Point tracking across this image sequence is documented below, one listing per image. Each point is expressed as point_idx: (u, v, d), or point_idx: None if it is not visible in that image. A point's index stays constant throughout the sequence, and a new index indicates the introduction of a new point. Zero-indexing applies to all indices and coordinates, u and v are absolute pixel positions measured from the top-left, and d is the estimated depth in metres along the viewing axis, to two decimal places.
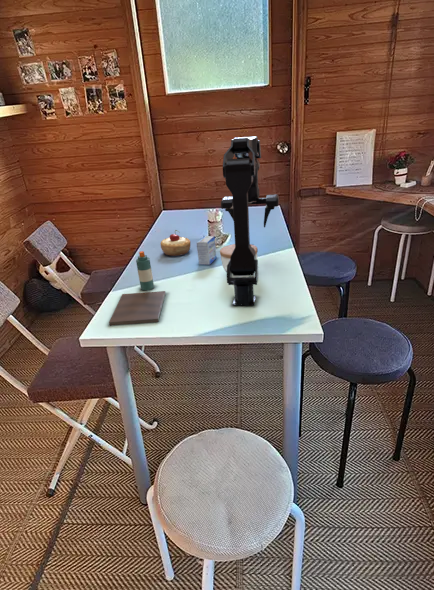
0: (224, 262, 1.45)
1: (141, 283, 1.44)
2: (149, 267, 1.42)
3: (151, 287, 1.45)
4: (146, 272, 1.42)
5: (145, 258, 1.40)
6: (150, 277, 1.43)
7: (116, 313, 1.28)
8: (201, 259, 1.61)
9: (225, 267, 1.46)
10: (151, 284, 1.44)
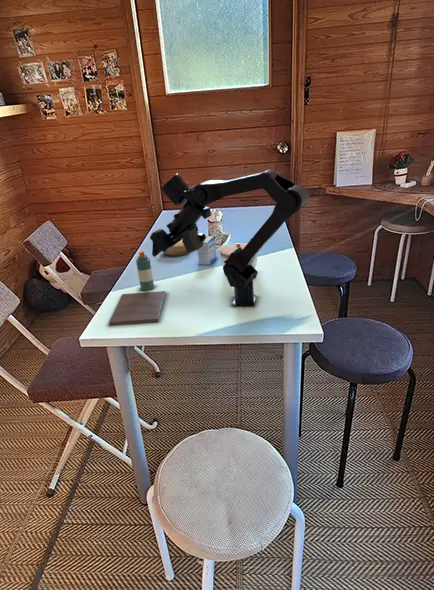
0: None
1: (141, 283, 1.44)
2: (149, 267, 1.42)
3: (151, 287, 1.45)
4: (146, 272, 1.42)
5: (145, 258, 1.40)
6: (150, 277, 1.43)
7: (116, 313, 1.28)
8: (201, 259, 1.61)
9: None
10: (151, 284, 1.44)
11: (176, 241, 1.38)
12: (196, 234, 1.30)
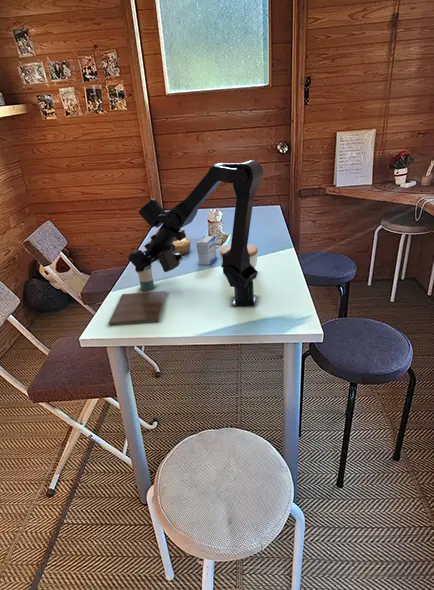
0: None
1: (142, 283, 1.44)
2: (149, 267, 1.42)
3: (151, 287, 1.45)
4: (146, 272, 1.42)
5: None
6: (150, 277, 1.43)
7: (116, 313, 1.28)
8: (201, 259, 1.61)
9: None
10: (151, 284, 1.44)
11: (151, 261, 1.44)
12: (172, 254, 1.37)
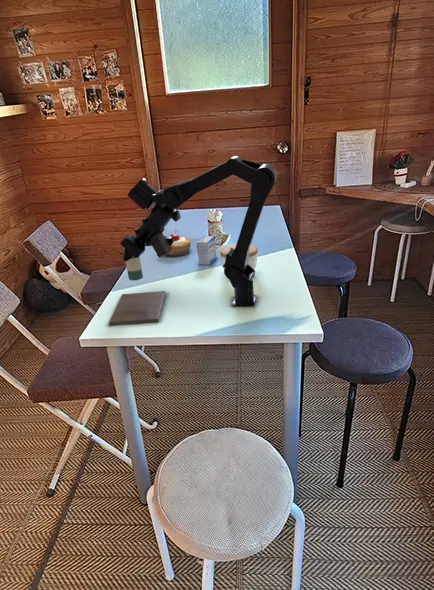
0: (224, 262, 1.45)
1: (131, 273, 1.33)
2: None
3: (141, 276, 1.35)
4: (135, 260, 1.31)
5: None
6: (139, 265, 1.33)
7: (116, 313, 1.28)
8: (201, 259, 1.61)
9: None
10: (141, 273, 1.34)
11: None
12: (165, 238, 1.29)
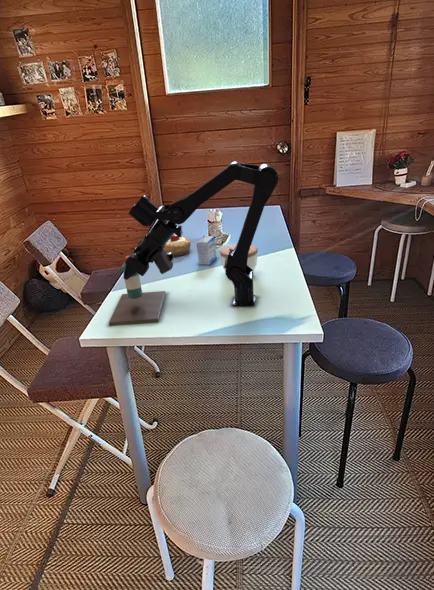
0: (224, 262, 1.45)
1: (131, 291, 1.30)
2: None
3: (141, 294, 1.32)
4: (136, 278, 1.28)
5: None
6: (139, 283, 1.30)
7: (116, 313, 1.28)
8: (201, 259, 1.61)
9: None
10: (141, 291, 1.31)
11: None
12: (165, 254, 1.27)
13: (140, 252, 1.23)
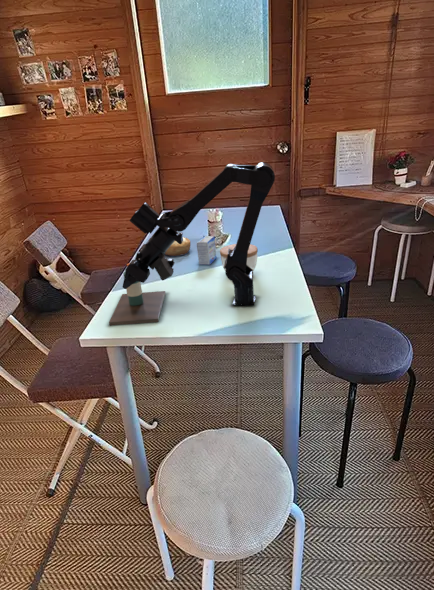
0: (224, 262, 1.45)
1: (132, 298, 1.31)
2: None
3: (142, 301, 1.33)
4: (137, 285, 1.29)
5: None
6: (141, 290, 1.31)
7: (116, 313, 1.28)
8: (201, 259, 1.61)
9: None
10: (142, 298, 1.32)
11: None
12: (166, 260, 1.28)
13: (141, 259, 1.24)
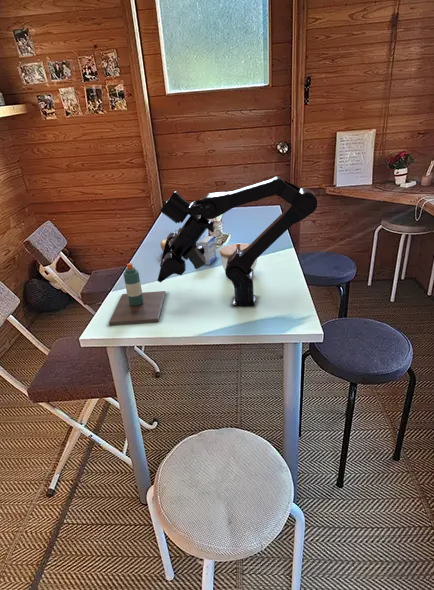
0: (224, 262, 1.45)
1: (132, 298, 1.31)
2: (139, 279, 1.30)
3: (142, 301, 1.33)
4: (137, 285, 1.29)
5: (134, 270, 1.28)
6: (141, 290, 1.31)
7: (116, 313, 1.28)
8: None
9: (225, 267, 1.46)
10: (142, 298, 1.32)
11: None
12: (197, 248, 1.27)
13: (174, 250, 1.22)
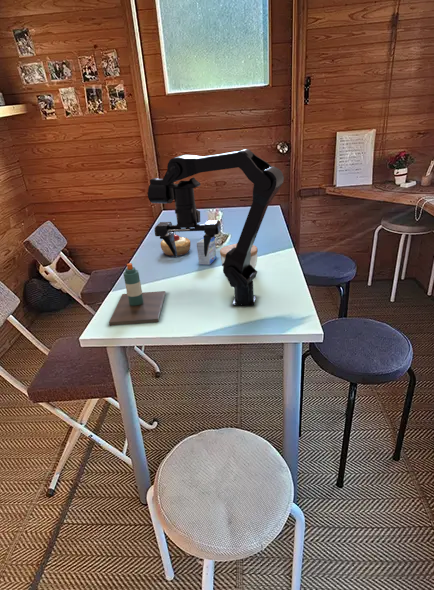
0: None
1: (132, 298, 1.31)
2: (139, 279, 1.30)
3: (142, 301, 1.33)
4: (137, 285, 1.29)
5: (134, 270, 1.28)
6: (141, 290, 1.31)
7: (116, 313, 1.28)
8: (201, 259, 1.61)
9: None
10: (142, 298, 1.32)
11: (175, 245, 1.31)
12: None
13: (195, 225, 1.25)
